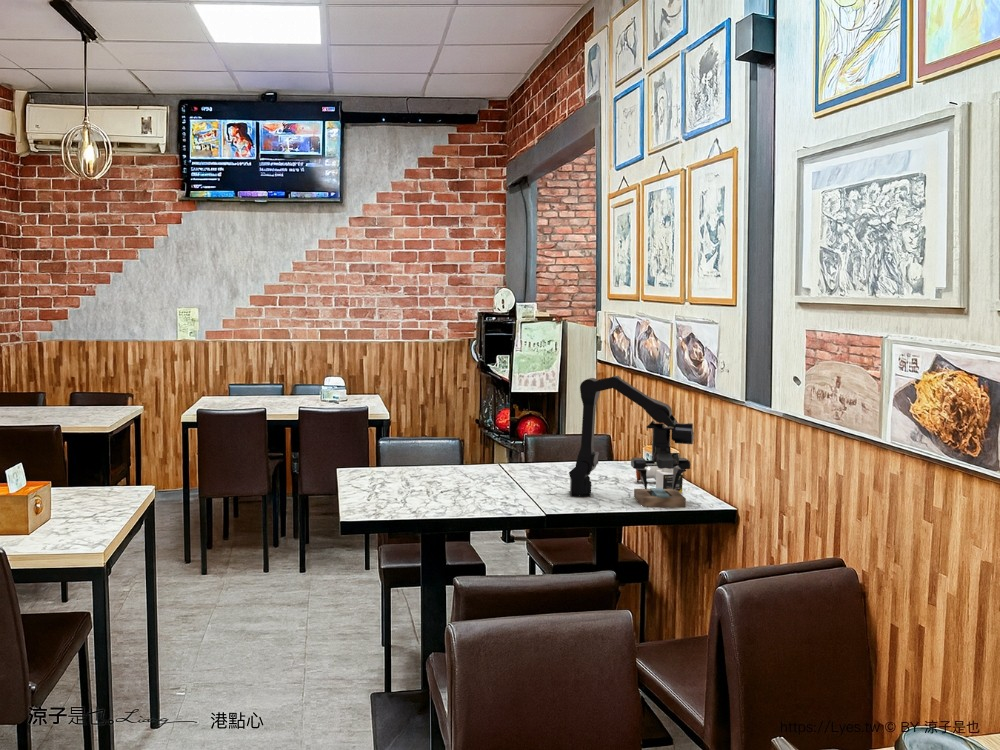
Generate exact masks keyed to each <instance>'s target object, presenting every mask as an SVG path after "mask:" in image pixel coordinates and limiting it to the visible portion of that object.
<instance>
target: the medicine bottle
mask: <svg viewBox="0 0 1000 750" xmlns="http://www.w3.org/2000/svg"><path fill="white" fill-rule="evenodd" d="M674 467H676V466H673V468H672V469H669V468H663V469H662V470H656V480H655V488H662V489H673V488H672V482H673V469H674ZM683 473H684V472H683ZM683 473H682V474H681V475H680V477H679V479H678V482H677V484H676V487H675V489H676V490H677V491H678V492H679V493H680V494H681V495H682V494H683V481H684V480H683V477H684V474H683Z"/></svg>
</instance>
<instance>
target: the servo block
mask: <svg viewBox="0 0 1000 750" xmlns="http://www.w3.org/2000/svg"><path fill="white" fill-rule="evenodd" d="M649 489H650V490H651V491H652V494H651V496H657V497H669V495H668V494H667V493H666V492H665V491H664V490H663V489H662V488H656V487H650V488H649Z"/></svg>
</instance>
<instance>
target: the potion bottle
mask: <svg viewBox="0 0 1000 750" xmlns="http://www.w3.org/2000/svg"><path fill="white" fill-rule="evenodd" d="M655 463H656V462H655ZM645 469H646V470H647V472H646V478H647V480H650V479H654V480H655V481H656V470H662V469H660V468H658V466H646V467H645ZM635 474H636V482H637V483H638V482H639V481H641V482H642V483H643V481H642V478H641V475H640V473H639V471H637V470H636V469H635Z"/></svg>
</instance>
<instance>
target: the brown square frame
mask: <svg viewBox="0 0 1000 750" xmlns="http://www.w3.org/2000/svg"><path fill="white" fill-rule="evenodd" d="M633 490H634V491H633V498H634V497H635V498H636V499H637V500H638V501H637V500H636V499H635V498H634V499H635V500H636V501H637V503H640V504H641V505H642V506H648V507H647V508H686V502H687V501H686V499H687V498H686V497H685V496H684V495H683V494H682V493H681V494H680V493H679V492H678V491H677V490H676V489H674V490H673V489H663V490H664V491H665V492H666V493H667V494H668V495H669V497H657V496H651V494H652V491H651V490H650V488H647V489H645V488H634V489H633ZM640 504H639V505H640ZM641 505H640V506H641ZM642 506H641V507H642Z"/></svg>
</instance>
